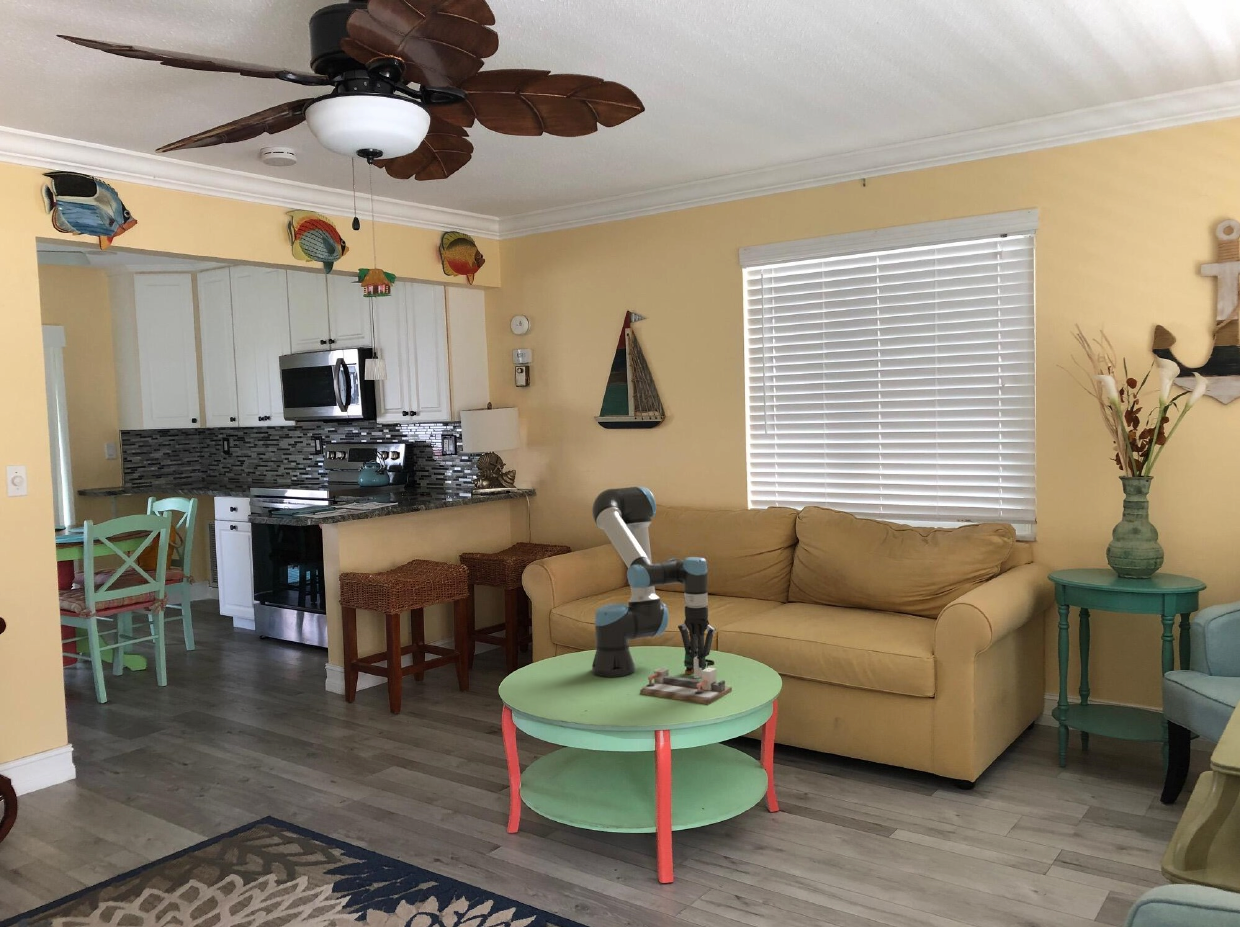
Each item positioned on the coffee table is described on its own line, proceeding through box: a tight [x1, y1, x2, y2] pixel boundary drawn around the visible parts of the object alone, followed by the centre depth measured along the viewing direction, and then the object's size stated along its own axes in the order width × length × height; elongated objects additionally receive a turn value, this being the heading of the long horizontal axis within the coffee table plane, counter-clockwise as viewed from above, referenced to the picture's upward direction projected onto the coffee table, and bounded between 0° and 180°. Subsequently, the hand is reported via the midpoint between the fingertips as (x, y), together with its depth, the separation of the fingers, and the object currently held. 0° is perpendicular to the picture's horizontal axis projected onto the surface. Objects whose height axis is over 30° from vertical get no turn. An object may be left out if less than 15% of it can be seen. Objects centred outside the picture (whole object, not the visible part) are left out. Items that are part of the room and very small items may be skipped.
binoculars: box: [683, 650, 715, 675], centre depth 327 cm, size 9×11×10 cm
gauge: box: [639, 667, 733, 705], centre depth 305 cm, size 25×16×5 cm, turn 57°
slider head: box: [697, 667, 718, 692], centre depth 302 cm, size 3×10×6 cm, turn 147°
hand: (698, 676), depth 306 cm, fingers closed
